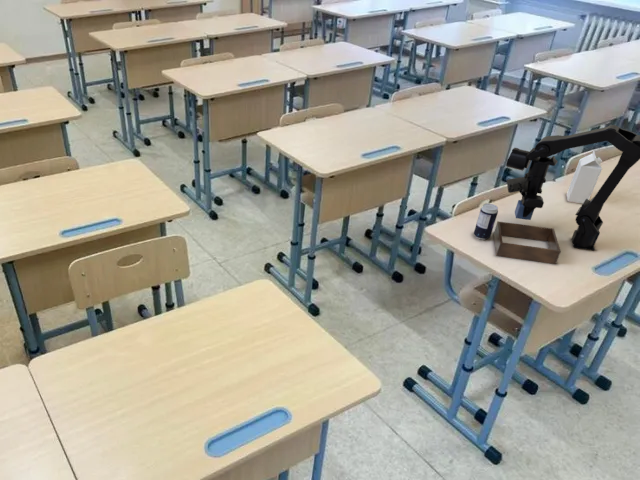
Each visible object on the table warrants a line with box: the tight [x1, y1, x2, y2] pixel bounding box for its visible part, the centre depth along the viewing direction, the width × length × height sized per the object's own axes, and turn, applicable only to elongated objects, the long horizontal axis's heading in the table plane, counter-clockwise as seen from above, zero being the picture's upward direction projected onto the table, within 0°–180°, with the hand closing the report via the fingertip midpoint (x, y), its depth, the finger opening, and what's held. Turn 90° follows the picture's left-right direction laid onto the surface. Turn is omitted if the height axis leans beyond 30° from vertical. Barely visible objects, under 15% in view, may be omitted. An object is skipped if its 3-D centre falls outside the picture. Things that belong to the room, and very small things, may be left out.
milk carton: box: [566, 150, 603, 205], centre depth 214 cm, size 7×7×19 cm
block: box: [514, 199, 535, 221], centre depth 200 cm, size 5×5×5 cm
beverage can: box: [473, 203, 499, 241], centre depth 194 cm, size 6×6×12 cm
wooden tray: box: [493, 220, 561, 265], centre depth 190 cm, size 19×16×5 cm
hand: (523, 213), depth 201 cm, fingers closed on block, 5 cm apart
